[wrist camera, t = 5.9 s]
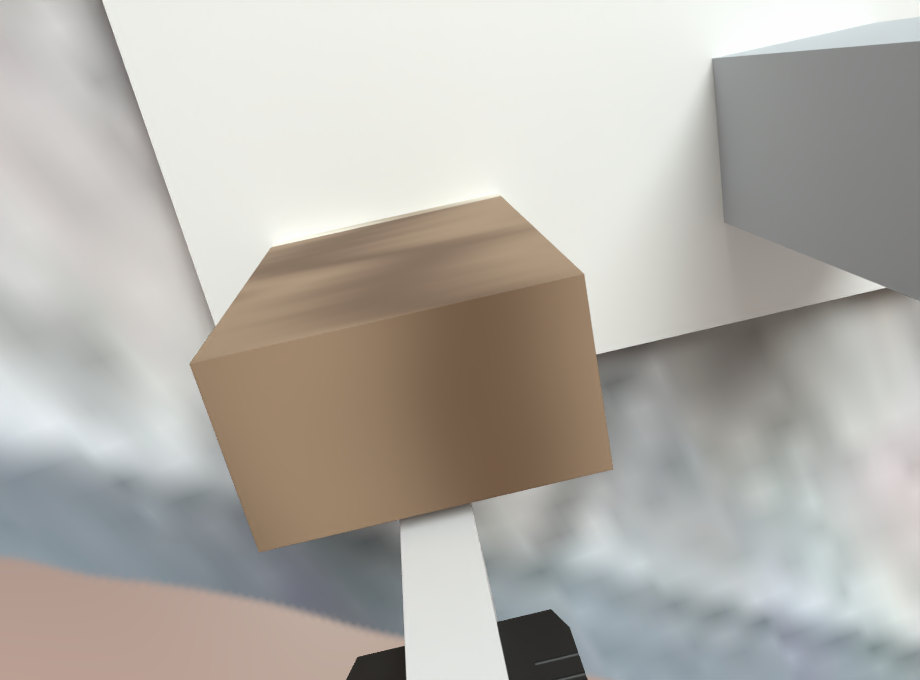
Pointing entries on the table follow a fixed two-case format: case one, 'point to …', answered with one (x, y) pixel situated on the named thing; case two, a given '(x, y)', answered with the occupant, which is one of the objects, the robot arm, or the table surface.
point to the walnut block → (403, 372)
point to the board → (477, 135)
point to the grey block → (828, 148)
